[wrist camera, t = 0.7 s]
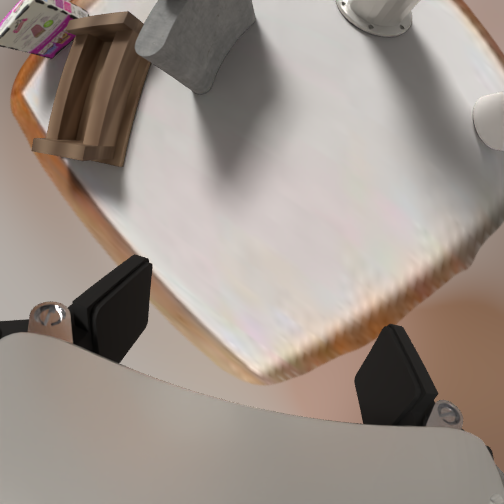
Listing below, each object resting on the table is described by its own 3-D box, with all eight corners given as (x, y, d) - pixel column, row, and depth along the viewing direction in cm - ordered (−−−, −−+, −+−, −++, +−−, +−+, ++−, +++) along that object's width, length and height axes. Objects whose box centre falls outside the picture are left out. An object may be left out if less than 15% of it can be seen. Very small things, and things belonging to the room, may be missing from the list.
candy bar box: (88, 10, 31) (36, -17, 15) (92, 25, 32) (35, -2, 17) (48, 44, 33) (-7, 29, 18) (50, 60, 34) (-8, 46, 19)
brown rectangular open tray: (60, 153, 40) (25, 156, 32) (95, 31, 32) (65, 16, 24) (122, 166, 40) (89, 170, 32) (164, 27, 32) (140, 5, 24)
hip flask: (205, 97, 36) (141, 51, 17) (182, 87, 36) (108, 42, 17) (259, 15, 31) (241, -68, 12) (235, 7, 31) (204, -73, 12)
